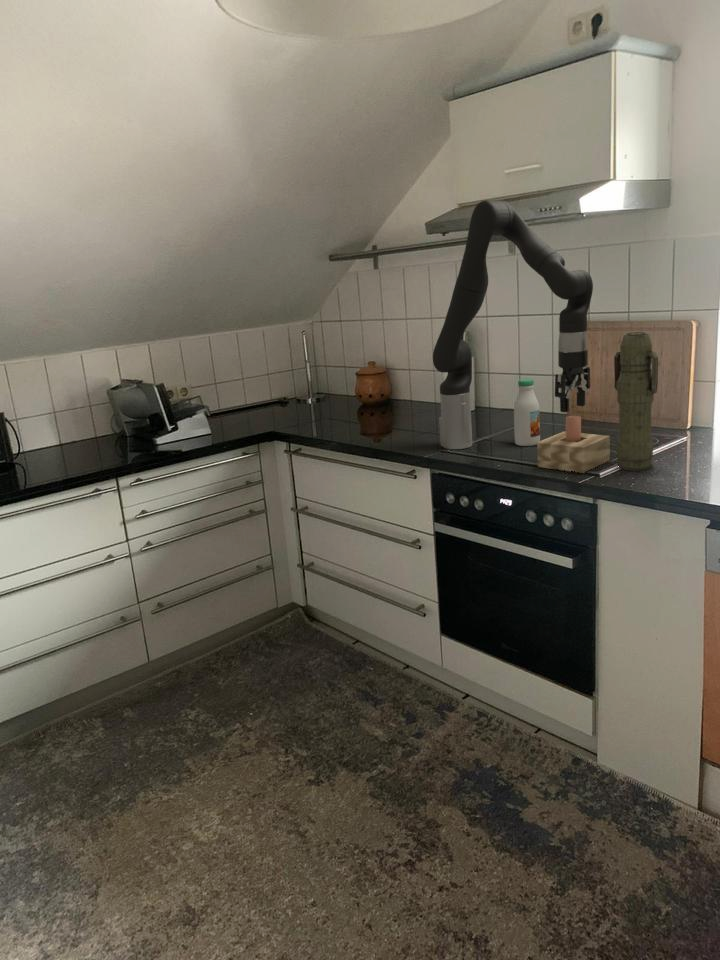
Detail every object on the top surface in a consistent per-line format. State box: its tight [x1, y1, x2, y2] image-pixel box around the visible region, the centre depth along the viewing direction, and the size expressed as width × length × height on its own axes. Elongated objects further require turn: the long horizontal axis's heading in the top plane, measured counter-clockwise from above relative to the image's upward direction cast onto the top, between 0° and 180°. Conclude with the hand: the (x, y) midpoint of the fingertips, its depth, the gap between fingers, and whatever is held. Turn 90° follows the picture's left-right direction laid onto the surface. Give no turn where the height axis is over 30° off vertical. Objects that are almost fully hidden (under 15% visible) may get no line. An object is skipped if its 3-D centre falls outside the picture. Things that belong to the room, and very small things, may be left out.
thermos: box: [613, 331, 659, 472], centre depth 193 cm, size 9×12×35 cm
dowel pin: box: [565, 415, 582, 442], centre depth 203 cm, size 4×4×11 cm
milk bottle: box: [513, 378, 541, 447], centre depth 229 cm, size 8×8×20 cm
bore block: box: [536, 430, 611, 474], centre depth 204 cm, size 14×14×7 cm
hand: (572, 408), depth 201 cm, fingers open, 8 cm apart
